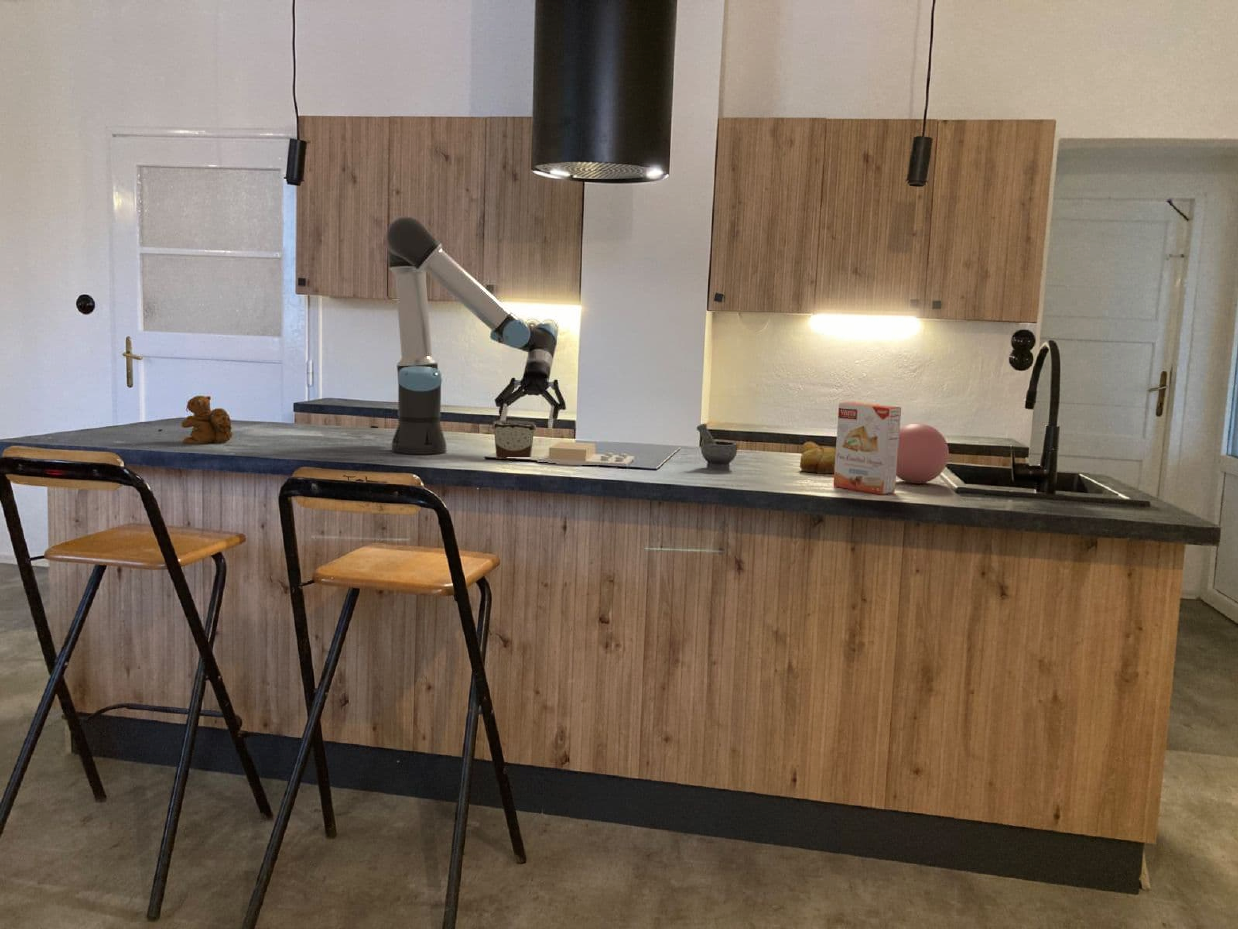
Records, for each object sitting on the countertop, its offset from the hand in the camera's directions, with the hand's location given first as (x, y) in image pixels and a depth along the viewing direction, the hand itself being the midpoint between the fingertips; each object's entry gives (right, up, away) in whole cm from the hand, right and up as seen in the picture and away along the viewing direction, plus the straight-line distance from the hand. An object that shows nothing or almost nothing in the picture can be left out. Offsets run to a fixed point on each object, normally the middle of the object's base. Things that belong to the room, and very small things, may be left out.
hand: (525, 425), depth 283 cm
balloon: (+102, -15, -19) cm, 105 cm away
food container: (-3, -9, -3) cm, 10 cm away
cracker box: (+85, -17, -37) cm, 94 cm away
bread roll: (+81, -13, -8) cm, 82 cm away
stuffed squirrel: (-90, -5, +4) cm, 90 cm away
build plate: (+17, -10, -5) cm, 21 cm away
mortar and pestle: (+52, -12, -8) cm, 54 cm away
